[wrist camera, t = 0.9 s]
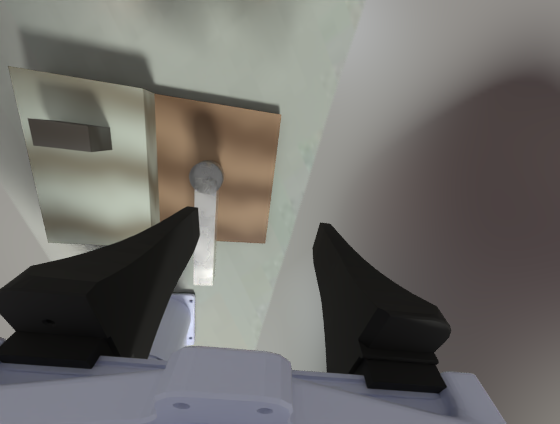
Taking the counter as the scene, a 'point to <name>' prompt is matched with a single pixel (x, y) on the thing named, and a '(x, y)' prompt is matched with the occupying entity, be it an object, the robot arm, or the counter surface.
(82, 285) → the robot arm
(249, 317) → the counter surface
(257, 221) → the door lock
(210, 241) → the bar
